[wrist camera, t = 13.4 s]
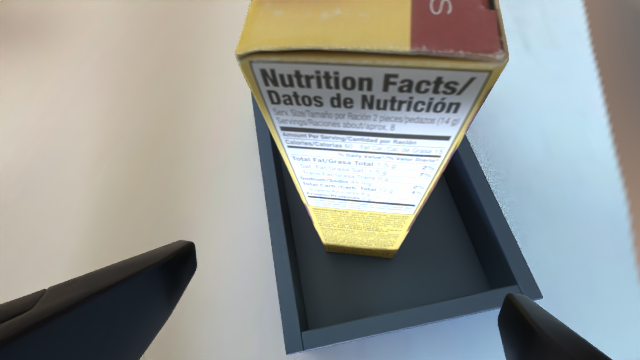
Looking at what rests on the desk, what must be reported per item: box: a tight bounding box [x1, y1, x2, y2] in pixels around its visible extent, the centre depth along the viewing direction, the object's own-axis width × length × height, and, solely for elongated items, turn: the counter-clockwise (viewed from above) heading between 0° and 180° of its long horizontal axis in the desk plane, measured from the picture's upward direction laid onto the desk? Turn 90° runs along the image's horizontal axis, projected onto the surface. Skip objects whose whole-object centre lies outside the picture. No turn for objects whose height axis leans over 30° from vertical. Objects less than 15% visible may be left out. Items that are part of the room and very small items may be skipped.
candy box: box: [235, 0, 509, 258], centre depth 13 cm, size 9×4×15 cm, turn 172°
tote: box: [251, 92, 543, 355], centre depth 19 cm, size 12×17×4 cm
